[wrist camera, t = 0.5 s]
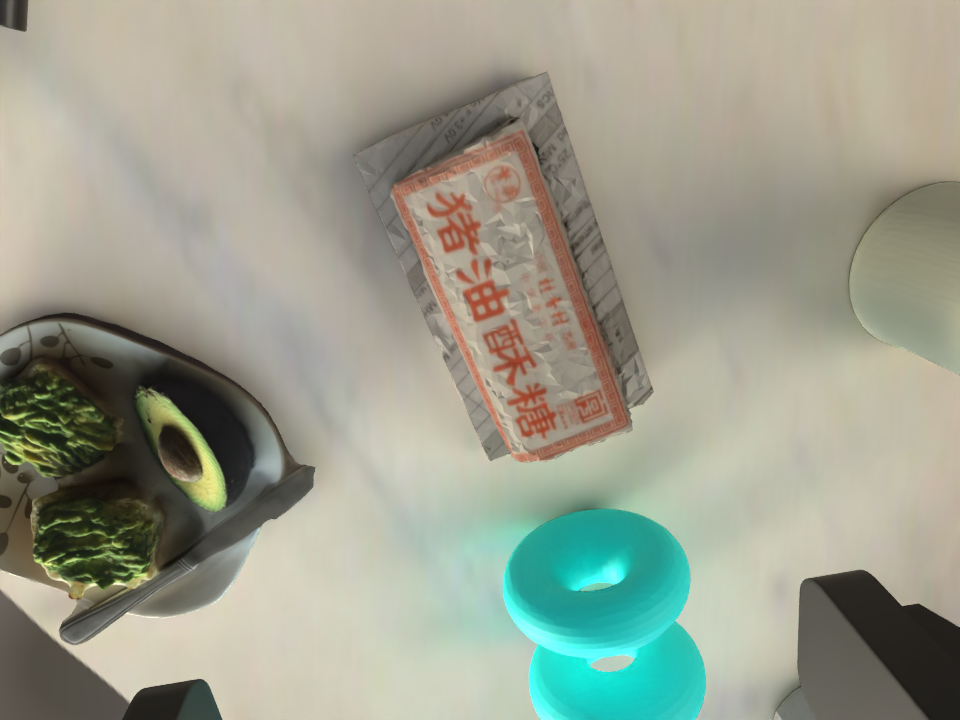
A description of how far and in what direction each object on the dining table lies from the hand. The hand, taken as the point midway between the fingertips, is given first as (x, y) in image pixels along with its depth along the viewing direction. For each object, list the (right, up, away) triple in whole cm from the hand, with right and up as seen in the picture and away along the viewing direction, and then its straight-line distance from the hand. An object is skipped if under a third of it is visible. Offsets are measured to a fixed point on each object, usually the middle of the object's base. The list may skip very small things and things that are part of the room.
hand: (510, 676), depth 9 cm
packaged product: (+1, +9, +27) cm, 28 cm away
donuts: (+6, -9, +33) cm, 35 cm away
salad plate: (-20, -1, +29) cm, 35 cm away
